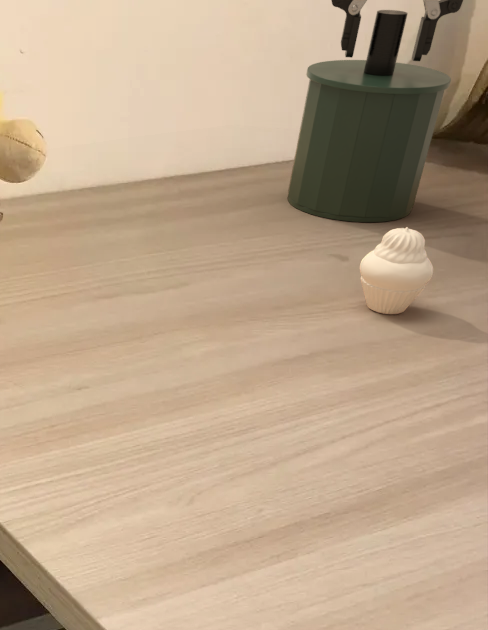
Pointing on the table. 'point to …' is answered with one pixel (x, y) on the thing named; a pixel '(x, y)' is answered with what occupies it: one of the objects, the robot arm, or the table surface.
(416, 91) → the tin lid
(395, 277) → the muffin
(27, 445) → the table surface
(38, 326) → the table surface
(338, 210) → the tin
